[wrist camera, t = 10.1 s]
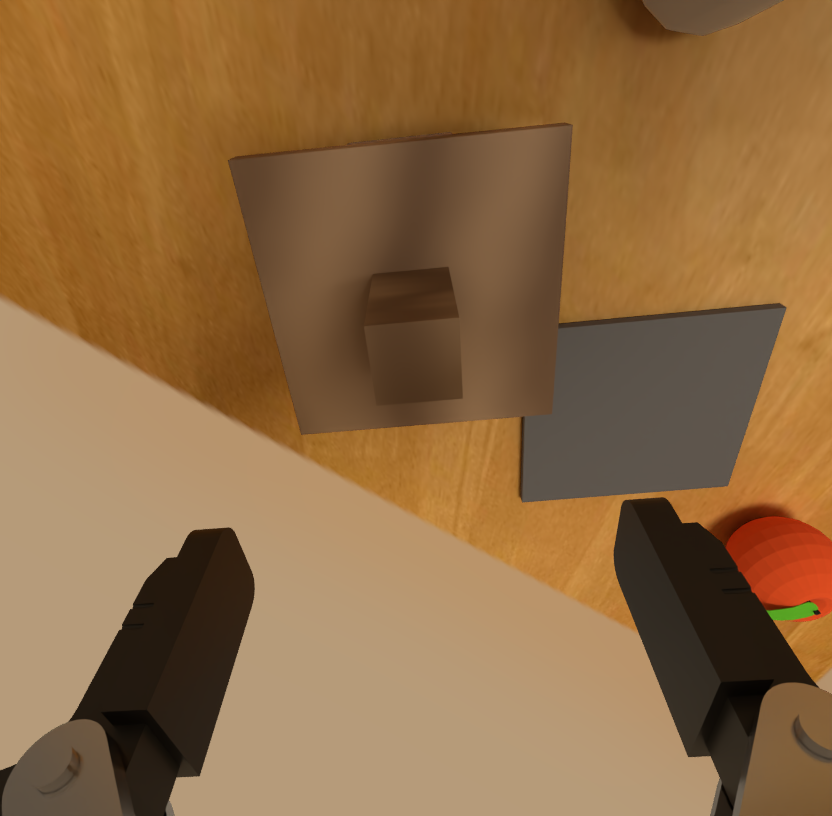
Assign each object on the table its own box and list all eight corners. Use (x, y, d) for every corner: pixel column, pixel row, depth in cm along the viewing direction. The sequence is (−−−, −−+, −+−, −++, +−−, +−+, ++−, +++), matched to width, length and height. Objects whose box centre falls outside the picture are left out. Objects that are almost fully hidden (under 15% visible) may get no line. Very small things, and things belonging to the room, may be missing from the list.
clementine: (695, 573, 41) (744, 658, 35) (686, 516, 37) (739, 600, 31) (802, 546, 39) (873, 631, 33) (803, 484, 35) (883, 566, 29)
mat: (779, 303, 28) (786, 307, 27) (723, 480, 35) (727, 486, 34) (525, 326, 28) (527, 331, 28) (520, 496, 36) (522, 502, 35)
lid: (564, 122, 18) (625, 140, 13) (547, 402, 25) (582, 486, 20) (236, 156, 19) (172, 186, 14) (304, 422, 25) (279, 509, 20)
